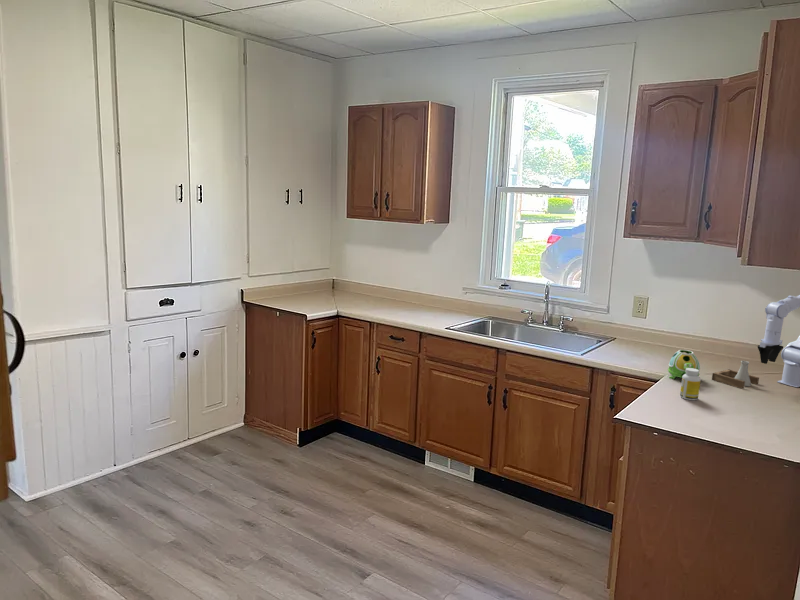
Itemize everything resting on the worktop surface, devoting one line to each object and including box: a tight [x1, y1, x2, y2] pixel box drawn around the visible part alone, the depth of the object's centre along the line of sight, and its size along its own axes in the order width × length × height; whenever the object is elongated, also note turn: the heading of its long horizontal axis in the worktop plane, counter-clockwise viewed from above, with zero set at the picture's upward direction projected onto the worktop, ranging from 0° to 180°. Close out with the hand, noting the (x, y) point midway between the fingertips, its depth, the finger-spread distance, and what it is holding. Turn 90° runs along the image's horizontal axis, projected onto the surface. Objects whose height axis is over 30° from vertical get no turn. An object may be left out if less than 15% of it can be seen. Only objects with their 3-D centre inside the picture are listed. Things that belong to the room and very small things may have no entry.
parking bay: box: [711, 368, 760, 390], centre depth 255 cm, size 13×13×3 cm
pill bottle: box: [679, 368, 701, 401], centre depth 231 cm, size 6×6×12 cm
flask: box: [735, 360, 752, 387], centre depth 252 cm, size 7×7×10 cm
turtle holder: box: [667, 349, 701, 380], centre depth 255 cm, size 12×18×12 cm
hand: (767, 362), depth 250 cm, fingers open, 6 cm apart
